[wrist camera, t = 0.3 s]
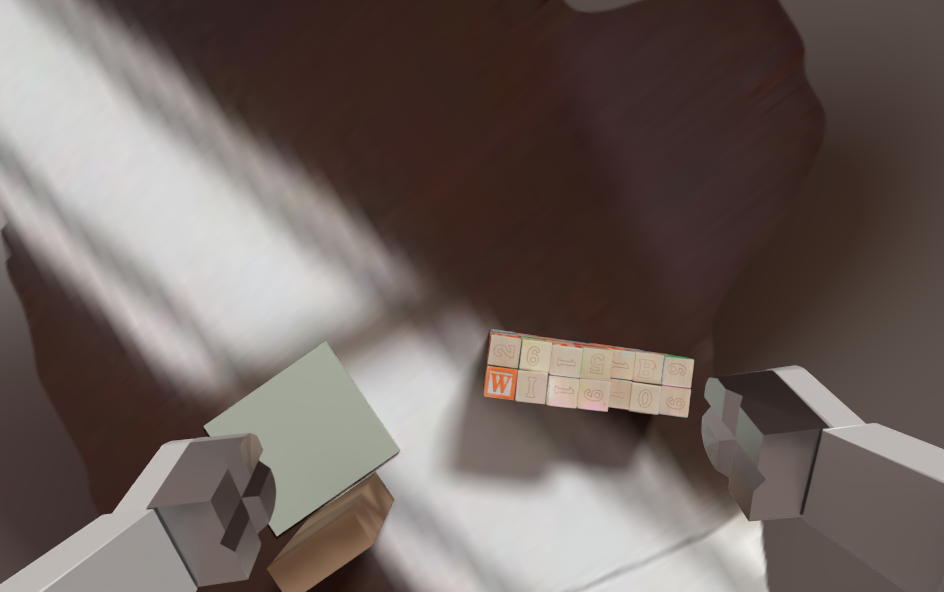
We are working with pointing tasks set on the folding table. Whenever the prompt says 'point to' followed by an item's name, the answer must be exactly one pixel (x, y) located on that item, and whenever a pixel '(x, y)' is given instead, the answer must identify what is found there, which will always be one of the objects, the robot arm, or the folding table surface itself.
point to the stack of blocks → (585, 375)
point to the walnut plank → (333, 536)
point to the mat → (309, 433)
